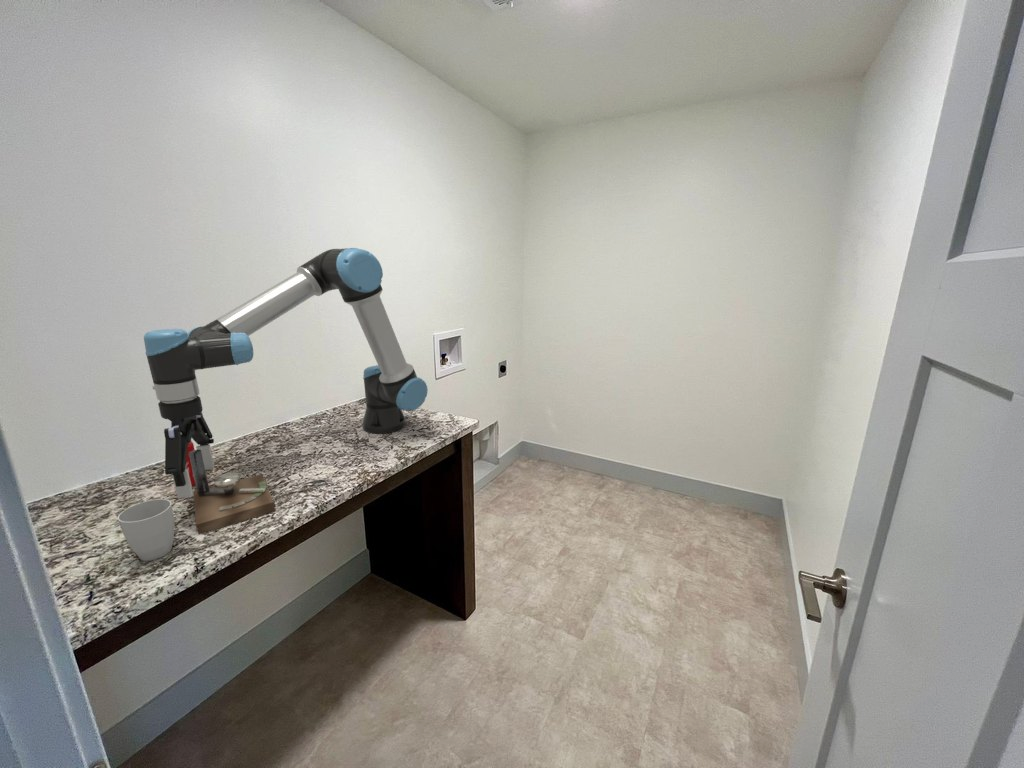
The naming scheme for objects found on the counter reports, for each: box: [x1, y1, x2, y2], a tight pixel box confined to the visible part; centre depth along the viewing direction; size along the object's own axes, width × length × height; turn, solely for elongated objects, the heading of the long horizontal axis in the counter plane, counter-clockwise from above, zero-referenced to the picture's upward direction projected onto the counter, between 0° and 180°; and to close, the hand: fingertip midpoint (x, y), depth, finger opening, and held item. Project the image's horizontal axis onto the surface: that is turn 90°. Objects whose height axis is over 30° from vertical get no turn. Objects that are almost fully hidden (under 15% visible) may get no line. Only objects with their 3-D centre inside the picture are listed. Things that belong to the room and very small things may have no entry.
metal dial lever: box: [189, 449, 265, 495], centre depth 100 cm, size 5×16×11 cm, turn 94°
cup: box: [117, 498, 175, 562], centre depth 83 cm, size 8×8×10 cm
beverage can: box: [185, 441, 196, 487], centre depth 109 cm, size 5×5×12 cm
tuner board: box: [193, 473, 276, 535], centre depth 100 cm, size 15×17×3 cm
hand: (197, 482), depth 98 cm, fingers open, 13 cm apart
